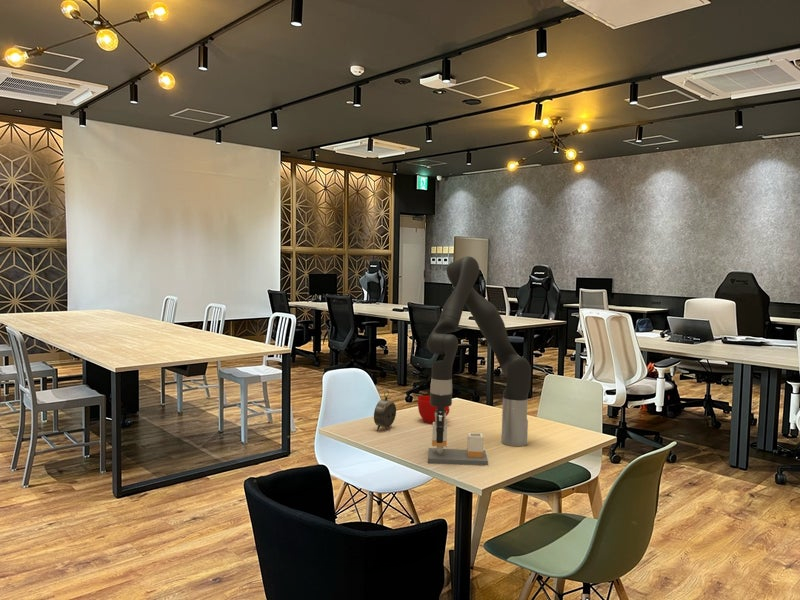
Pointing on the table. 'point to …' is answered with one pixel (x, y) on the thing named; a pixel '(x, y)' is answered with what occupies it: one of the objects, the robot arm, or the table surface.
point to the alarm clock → (384, 413)
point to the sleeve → (434, 435)
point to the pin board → (461, 453)
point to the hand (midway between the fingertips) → (439, 440)
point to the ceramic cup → (428, 409)
